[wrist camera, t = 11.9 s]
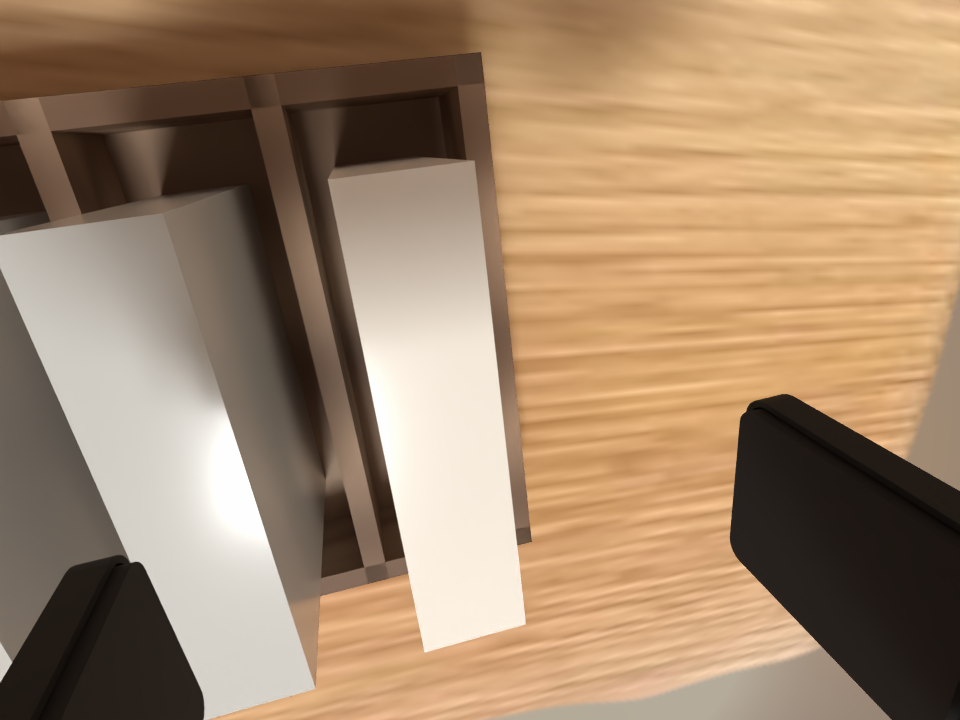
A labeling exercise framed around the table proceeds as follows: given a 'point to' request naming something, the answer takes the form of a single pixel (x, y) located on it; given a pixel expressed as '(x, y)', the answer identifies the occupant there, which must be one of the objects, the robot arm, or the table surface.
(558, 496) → the table surface
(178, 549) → the racked plate mid
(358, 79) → the rack
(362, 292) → the plate
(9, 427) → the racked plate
